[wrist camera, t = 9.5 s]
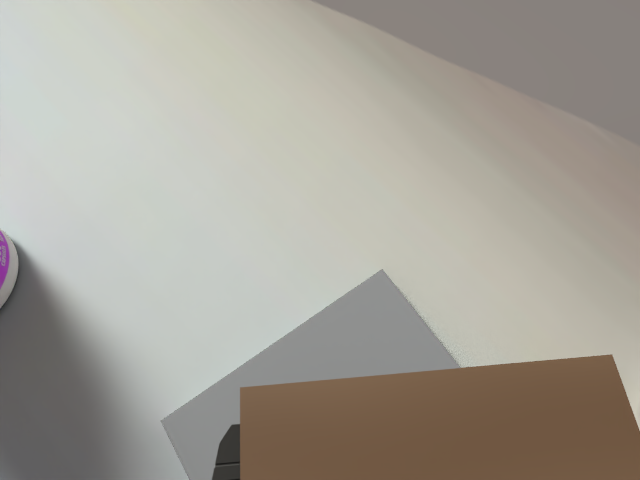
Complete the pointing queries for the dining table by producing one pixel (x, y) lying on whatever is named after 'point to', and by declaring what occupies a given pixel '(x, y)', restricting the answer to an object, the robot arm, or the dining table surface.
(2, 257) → the supplement bottle
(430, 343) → the slate tile
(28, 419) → the dining table surface
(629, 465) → the walnut block
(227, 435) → the robot arm
